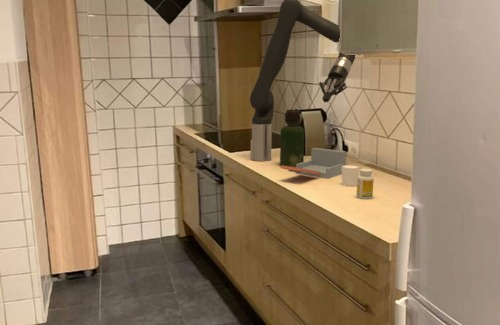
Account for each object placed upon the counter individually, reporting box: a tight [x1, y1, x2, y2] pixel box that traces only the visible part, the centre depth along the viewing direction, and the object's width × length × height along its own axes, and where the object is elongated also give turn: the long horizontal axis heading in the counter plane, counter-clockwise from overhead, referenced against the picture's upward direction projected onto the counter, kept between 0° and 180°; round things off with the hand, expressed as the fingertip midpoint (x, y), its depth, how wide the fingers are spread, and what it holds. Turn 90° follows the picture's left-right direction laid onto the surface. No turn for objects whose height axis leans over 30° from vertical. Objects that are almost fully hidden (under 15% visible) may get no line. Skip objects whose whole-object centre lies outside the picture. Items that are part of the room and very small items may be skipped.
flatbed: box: [295, 147, 347, 179], centre depth 213 cm, size 15×15×9 cm
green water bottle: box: [279, 109, 305, 167], centre depth 226 cm, size 10×10×25 cm
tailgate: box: [280, 165, 320, 175], centre depth 200 cm, size 2×9×15 cm
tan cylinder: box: [341, 164, 360, 187], centre depth 193 cm, size 7×7×7 cm
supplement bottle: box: [356, 168, 375, 200], centre depth 175 cm, size 5×5×10 cm
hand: (325, 100), depth 210 cm, fingers closed
